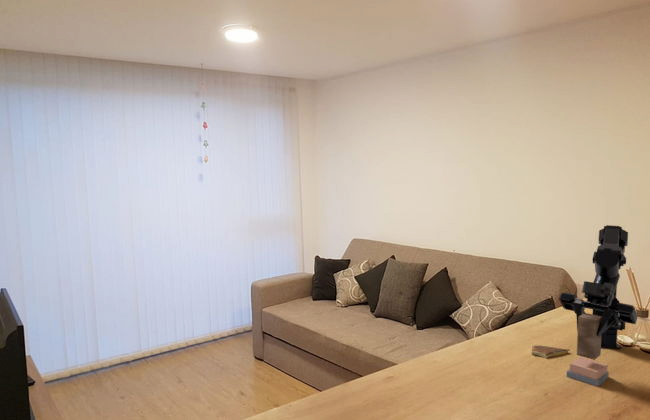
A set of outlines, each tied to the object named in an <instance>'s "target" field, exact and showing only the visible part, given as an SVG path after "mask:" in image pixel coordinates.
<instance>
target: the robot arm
mask: <svg viewBox="0 0 650 420" xmlns="http://www.w3.org/2000/svg"><path fill="white" fill-rule="evenodd" d="M628 240H629V232H628V231H627V230H625V229H623V226H620V225H611V224H610V225H608V224H607V225H604V226H603V228H602V229H600V230H598V244H599V245H598V246H597V249H596V251H593V255H592V264H594V270H595V271H594V272H595V277H594V280H593V282H592V281H583V286H582V291H581V293H583V294H584V295H583V297H584V299H586V300H584V299H582V298H578V296H577V294H576V293H570V292H564V291H563V292H561V293H560V295H559V297H558V300H559V303H560V304H561V306H562V308H563V309H564V310H568V311H572V312H573V313H574V315H576V331H577V332H578V317H579V316H580V315H582V314H584V313H586V311H585V310H586V309H589V310H592V313H591V314H592V315H597V316H601V317H602V320H601V323H600V325H599V327H598V330H597V334H596V335H597V336H598V337H599V336H600V335H601V349H602V348H603V349H622V346H621V345H620V344H619V343H618V330H619V331H623V330H626V323H627V324H632V325H636V323H637V322H638V321H637V320H638V313H637V310H636V308H635V305H633V304H627V303H622V302H620V301H619V299H618V298H617V293H618V292H617V291H618V290H617V288H618V284H619V281H620V278H621V275H620V273H619V270H621V268H622V267H624V265H626V264H627V257H626V255H625V252H626V247H628V246H629V245H628V242H629V241H628Z"/></svg>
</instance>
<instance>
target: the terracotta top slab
mask: <svg viewBox="0 0 650 420" xmlns="http://www.w3.org/2000/svg"><path fill="white" fill-rule="evenodd" d="M608 368H609V367H608V364H606V363H603V362H599V361H597V360H593V359H589V358H586V357H582V356H579V357H578V358H577V359H575V360H573V361H572V362H570V363H569V369H570V371H571V372H574V373H577V374H580V375H583V376H586V377H589V378H592V379H595V380H597V379H599V378H600V377H602V376H603V375H604V374H606V373H607V371H608Z"/></svg>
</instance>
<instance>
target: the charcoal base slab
mask: <svg viewBox="0 0 650 420" xmlns="http://www.w3.org/2000/svg"><path fill="white" fill-rule="evenodd" d="M609 372H610V371H608V370H607V373H606V374H604V375H603V376H602V377H600V378H599V379H597V380H595V379H592V378H589V377H586V376H583V375H580V374H577V373H574V372H571V371H570V368H569V369H568V370H567V371H566V378H569V379H573V380H576V381H578V382H582V383H586V384H589V385H590V386H591V385H592V386H595V387H600V386H601V385H602V384H603V383H604V382H605V381H606V380H607V379H608V378H609V375H610V373H609Z"/></svg>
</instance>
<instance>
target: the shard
mask: <svg viewBox="0 0 650 420" xmlns="http://www.w3.org/2000/svg"><path fill="white" fill-rule="evenodd" d="M569 351H570V349H567V348H560V347H559V348H558V347H553V346H549V345H548V346H547V345H537V344H532V346H531V355H535V356H538V357H541V358H543V359H549V358H551V357H555V356H556V357H557V356H562V355H566V354H568V353H569Z"/></svg>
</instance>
